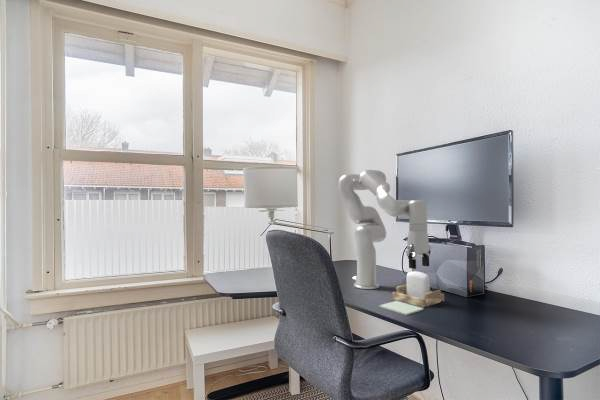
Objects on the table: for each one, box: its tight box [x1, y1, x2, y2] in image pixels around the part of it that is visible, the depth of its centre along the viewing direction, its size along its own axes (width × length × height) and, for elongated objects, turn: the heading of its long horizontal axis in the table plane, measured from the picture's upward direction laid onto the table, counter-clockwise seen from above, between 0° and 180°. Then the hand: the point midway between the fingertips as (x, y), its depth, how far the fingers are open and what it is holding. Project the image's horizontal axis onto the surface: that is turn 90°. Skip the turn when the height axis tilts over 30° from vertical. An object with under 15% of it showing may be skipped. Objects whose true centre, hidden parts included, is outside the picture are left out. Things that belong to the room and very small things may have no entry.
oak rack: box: [392, 283, 445, 309], centre depth 147 cm, size 15×15×5 cm
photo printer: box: [405, 270, 431, 299], centre depth 147 cm, size 10×4×12 cm, turn 39°
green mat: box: [378, 300, 424, 316], centre depth 135 cm, size 13×11×1 cm
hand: (419, 267), depth 146 cm, fingers open, 9 cm apart
